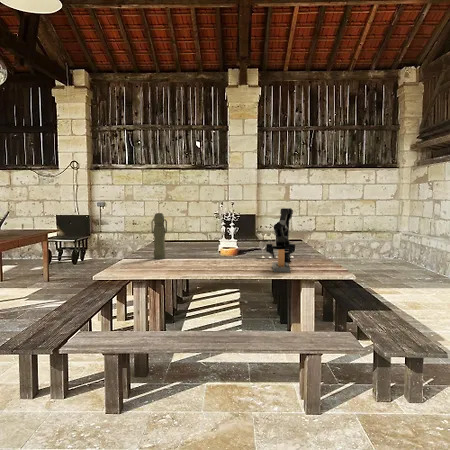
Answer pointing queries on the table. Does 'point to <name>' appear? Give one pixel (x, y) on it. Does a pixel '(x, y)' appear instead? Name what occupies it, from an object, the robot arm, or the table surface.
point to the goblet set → (263, 244)
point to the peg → (281, 257)
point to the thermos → (159, 236)
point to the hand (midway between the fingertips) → (281, 258)
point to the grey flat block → (280, 267)
